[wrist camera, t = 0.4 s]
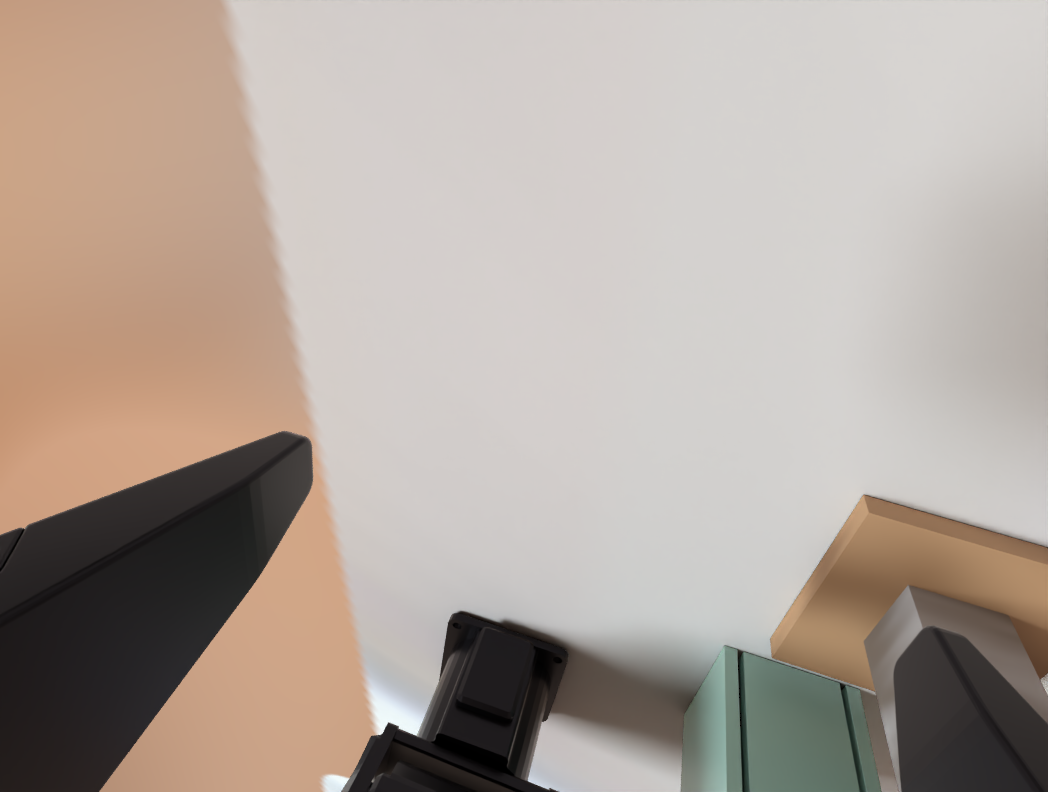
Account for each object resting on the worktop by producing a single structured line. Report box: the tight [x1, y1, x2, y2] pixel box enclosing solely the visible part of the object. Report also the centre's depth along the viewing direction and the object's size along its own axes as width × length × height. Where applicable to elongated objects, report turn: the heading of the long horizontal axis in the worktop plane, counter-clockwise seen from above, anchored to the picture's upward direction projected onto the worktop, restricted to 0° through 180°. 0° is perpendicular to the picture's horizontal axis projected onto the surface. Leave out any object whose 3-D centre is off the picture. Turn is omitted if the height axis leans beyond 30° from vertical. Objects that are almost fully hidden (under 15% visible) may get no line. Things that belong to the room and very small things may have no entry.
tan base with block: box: [770, 495, 1048, 792], centre depth 22 cm, size 9×9×8 cm
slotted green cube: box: [681, 646, 881, 792], centre depth 27 cm, size 6×6×8 cm
